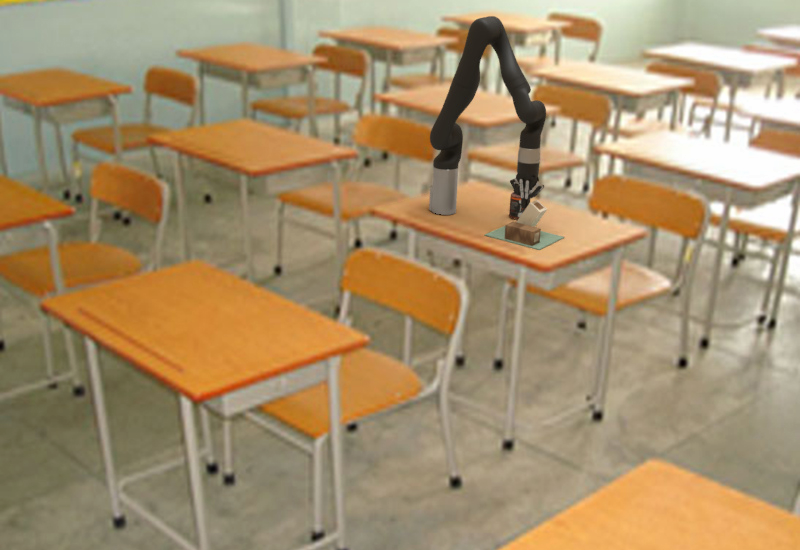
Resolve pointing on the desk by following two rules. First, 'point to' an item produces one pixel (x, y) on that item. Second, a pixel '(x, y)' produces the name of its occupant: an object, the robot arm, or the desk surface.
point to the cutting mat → (545, 241)
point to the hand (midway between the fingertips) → (525, 208)
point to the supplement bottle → (515, 206)
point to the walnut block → (522, 233)
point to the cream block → (532, 213)
